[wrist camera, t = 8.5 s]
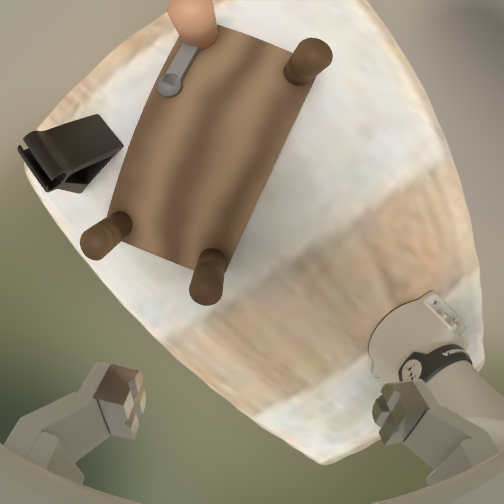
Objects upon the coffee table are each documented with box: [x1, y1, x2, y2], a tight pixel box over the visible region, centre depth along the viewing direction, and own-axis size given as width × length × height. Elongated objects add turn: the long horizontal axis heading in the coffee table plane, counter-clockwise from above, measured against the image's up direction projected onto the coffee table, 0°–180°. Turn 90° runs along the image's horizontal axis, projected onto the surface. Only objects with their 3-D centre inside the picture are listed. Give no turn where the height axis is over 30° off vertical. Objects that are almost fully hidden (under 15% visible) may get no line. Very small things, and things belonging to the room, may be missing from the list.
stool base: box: [80, 25, 333, 306], centre depth 27 cm, size 16×28×10 cm, turn 156°
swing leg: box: [157, 0, 218, 97], centre depth 22 cm, size 10×4×8 cm, turn 154°
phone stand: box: [18, 114, 123, 194], centre depth 26 cm, size 9×6×12 cm, turn 127°
